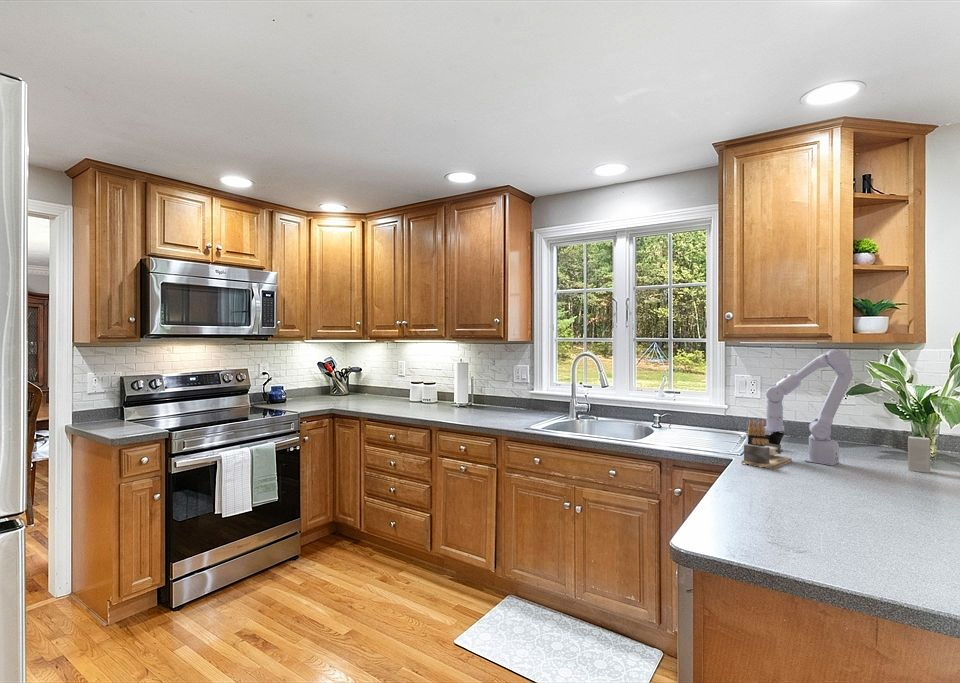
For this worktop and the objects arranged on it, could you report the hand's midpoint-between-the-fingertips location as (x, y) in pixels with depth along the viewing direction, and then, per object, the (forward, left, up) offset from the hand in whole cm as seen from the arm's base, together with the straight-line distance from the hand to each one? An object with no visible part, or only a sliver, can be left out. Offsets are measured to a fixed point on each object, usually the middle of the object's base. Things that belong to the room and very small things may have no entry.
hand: (774, 450), depth 208 cm
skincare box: (-42, -17, -3) cm, 45 cm away
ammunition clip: (+12, -18, -3) cm, 22 cm away
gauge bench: (-1, +11, -3) cm, 11 cm away
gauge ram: (-1, +6, 0) cm, 6 cm away
